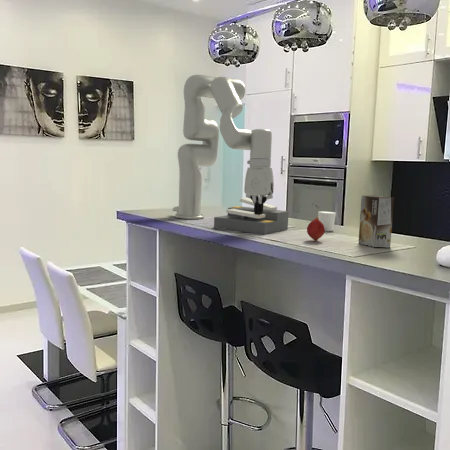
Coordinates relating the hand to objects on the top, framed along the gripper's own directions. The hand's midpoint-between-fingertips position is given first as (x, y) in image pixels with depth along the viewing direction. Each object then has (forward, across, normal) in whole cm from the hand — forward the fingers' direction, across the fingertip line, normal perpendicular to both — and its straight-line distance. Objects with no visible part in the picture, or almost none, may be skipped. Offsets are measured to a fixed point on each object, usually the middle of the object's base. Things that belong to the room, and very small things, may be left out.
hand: (258, 214), depth 185 cm
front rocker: (+1, -6, 0) cm, 6 cm away
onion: (+7, +24, -4) cm, 26 cm away
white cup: (+7, +16, +25) cm, 30 cm away
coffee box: (+7, +42, +2) cm, 43 cm away
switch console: (+6, -6, +5) cm, 10 cm away
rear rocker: (-2, -6, +9) cm, 11 cm away
